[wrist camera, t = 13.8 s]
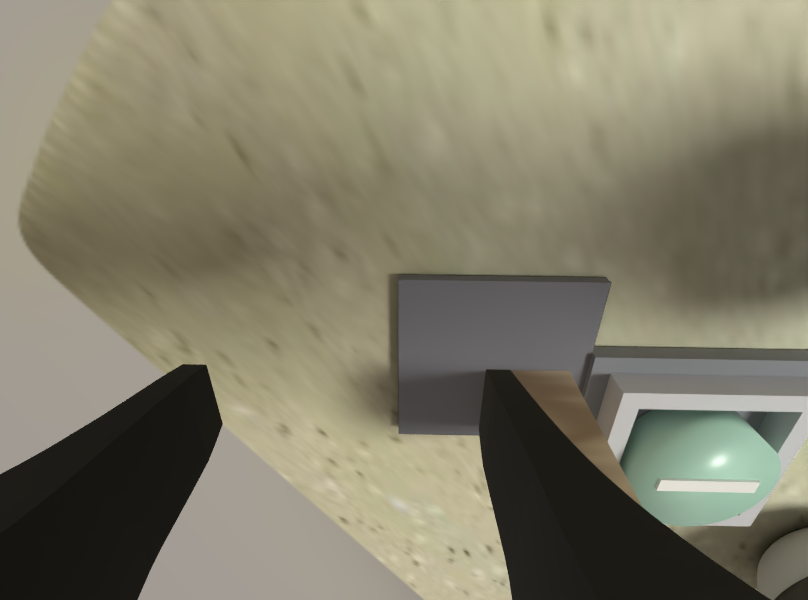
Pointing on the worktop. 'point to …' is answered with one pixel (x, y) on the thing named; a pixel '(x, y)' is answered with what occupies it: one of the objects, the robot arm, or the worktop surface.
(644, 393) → the switch panel
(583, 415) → the wooden rectangular block
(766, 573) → the pump dispenser
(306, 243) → the worktop surface
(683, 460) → the button
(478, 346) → the mat
